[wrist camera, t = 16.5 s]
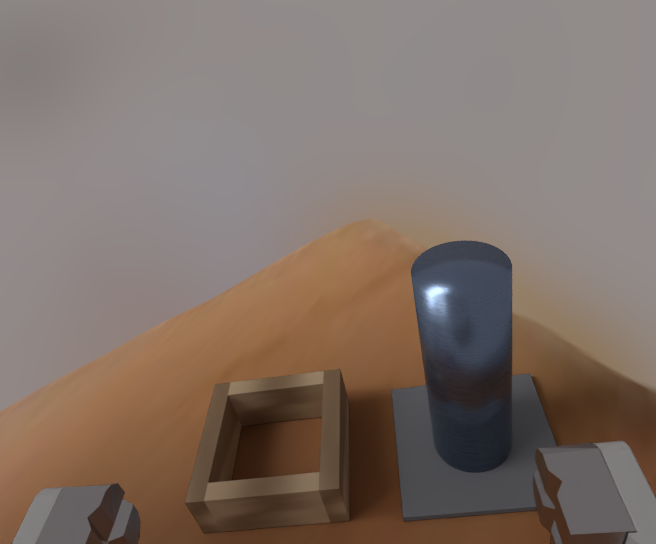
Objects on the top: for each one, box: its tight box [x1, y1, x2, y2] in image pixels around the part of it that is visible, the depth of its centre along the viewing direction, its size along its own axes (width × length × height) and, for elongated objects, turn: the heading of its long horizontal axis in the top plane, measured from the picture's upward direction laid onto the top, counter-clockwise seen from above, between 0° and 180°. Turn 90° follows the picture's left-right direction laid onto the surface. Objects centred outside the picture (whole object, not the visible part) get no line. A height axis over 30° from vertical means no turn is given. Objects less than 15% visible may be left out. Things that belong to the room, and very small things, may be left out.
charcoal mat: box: [392, 374, 557, 521], centre depth 36 cm, size 10×10×1 cm
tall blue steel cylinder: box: [411, 241, 512, 473], centre depth 32 cm, size 5×5×14 cm
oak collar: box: [185, 369, 350, 533], centre depth 37 cm, size 9×9×4 cm
